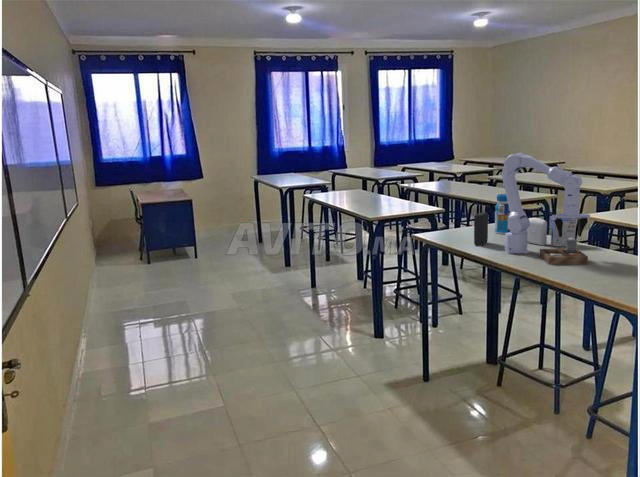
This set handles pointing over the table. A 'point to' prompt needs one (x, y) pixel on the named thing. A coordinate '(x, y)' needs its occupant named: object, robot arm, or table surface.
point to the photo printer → (537, 231)
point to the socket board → (563, 256)
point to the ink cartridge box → (567, 232)
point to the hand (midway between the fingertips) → (569, 236)
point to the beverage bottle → (502, 215)
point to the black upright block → (481, 228)
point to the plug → (571, 245)
